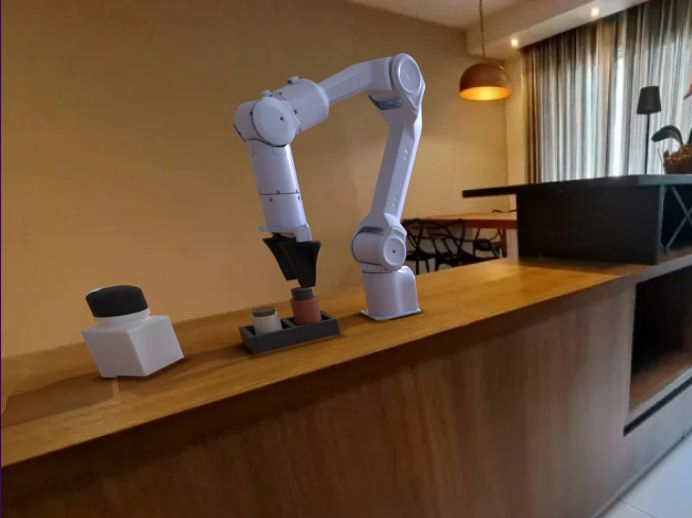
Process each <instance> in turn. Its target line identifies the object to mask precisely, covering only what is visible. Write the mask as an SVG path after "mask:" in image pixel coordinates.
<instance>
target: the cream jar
mask: <svg viewBox="0 0 692 518" xmlns="http://www.w3.org/2000/svg"><path fill="white" fill-rule="evenodd" d="M276 309H277V308H276V307H275V306H270V305H269V306H259V307H256V308H252V309H251V314H250V320H251V323H252V324H253V326H254V330H255V333H256V335H259V334H263V333H268V332H273V331H277V330H282V329H283V328H282V324H281V320H280V319H281V317H280V313H279V311H277V310H276Z"/></svg>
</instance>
